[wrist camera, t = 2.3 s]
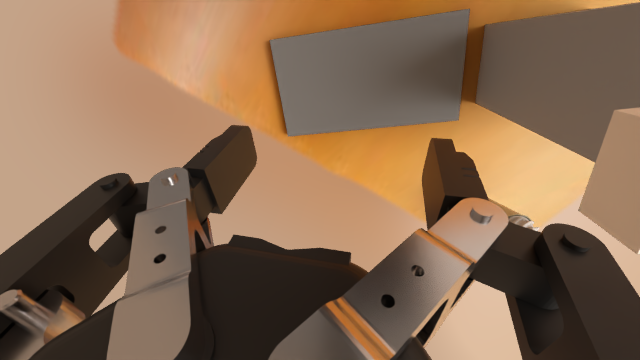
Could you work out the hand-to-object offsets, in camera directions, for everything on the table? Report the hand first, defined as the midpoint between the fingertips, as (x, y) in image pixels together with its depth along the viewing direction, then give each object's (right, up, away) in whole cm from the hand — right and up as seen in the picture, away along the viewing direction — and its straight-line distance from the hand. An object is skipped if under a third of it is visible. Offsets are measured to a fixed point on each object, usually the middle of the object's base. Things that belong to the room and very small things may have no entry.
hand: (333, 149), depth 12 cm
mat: (+6, +13, +27) cm, 31 cm away
